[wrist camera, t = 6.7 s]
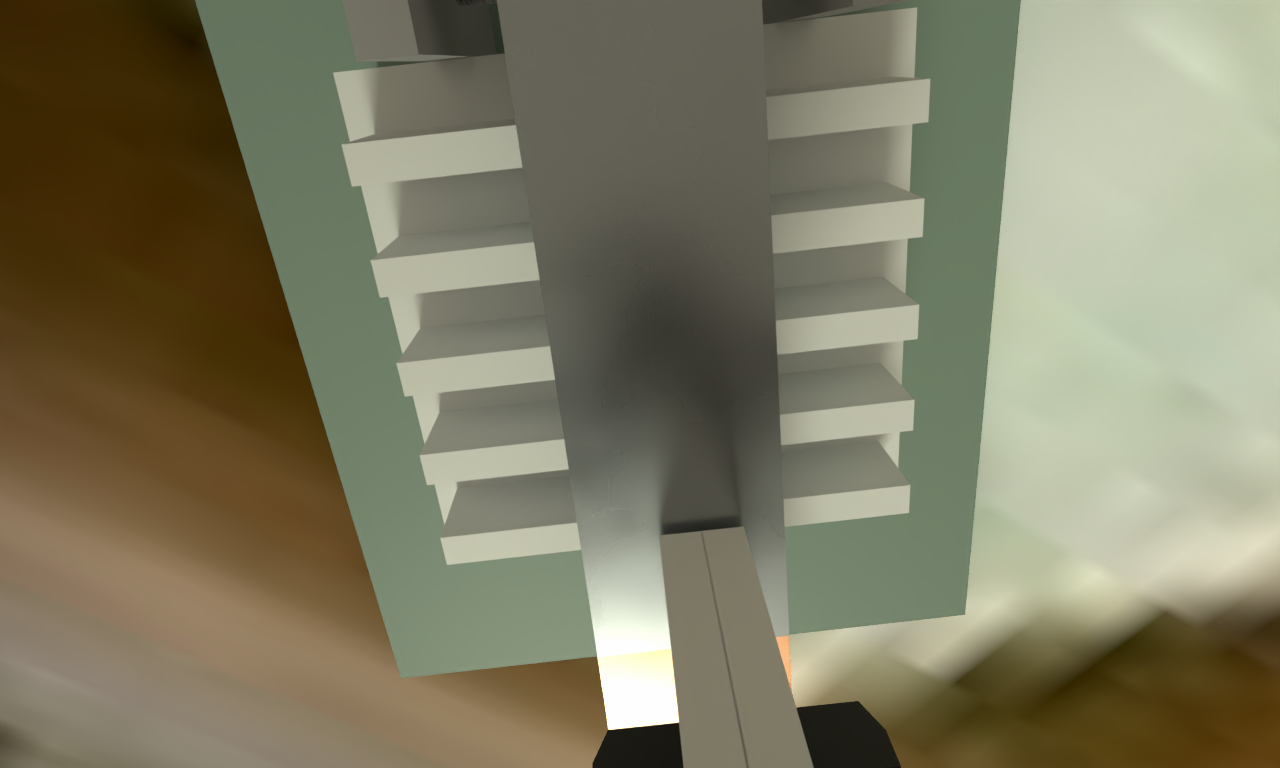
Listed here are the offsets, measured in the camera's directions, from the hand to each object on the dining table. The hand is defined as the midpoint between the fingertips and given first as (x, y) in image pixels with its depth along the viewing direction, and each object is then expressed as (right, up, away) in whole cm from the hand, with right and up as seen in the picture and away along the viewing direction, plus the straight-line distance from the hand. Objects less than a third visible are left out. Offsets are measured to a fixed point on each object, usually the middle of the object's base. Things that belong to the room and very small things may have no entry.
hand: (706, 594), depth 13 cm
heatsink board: (-1, +7, +7) cm, 10 cm away
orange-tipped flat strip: (-1, +4, 0) cm, 4 cm away
